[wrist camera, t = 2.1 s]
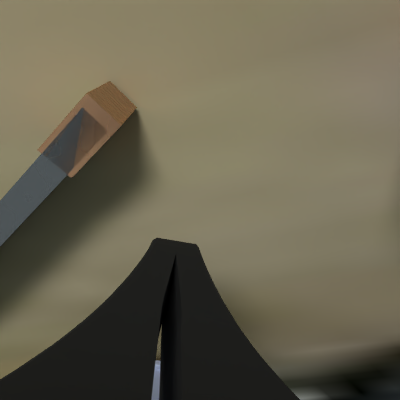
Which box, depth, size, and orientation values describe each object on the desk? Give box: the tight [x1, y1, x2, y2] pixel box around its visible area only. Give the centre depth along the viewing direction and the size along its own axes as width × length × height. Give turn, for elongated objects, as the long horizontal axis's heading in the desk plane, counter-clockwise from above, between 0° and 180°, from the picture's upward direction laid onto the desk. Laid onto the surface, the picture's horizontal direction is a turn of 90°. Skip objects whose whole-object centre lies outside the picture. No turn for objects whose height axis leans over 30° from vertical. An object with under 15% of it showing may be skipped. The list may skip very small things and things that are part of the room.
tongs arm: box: [0, 81, 137, 246], centre depth 16 cm, size 15×2×4 cm, turn 134°
